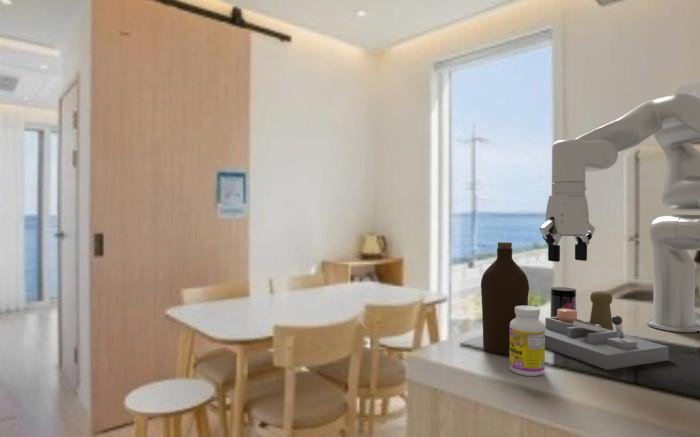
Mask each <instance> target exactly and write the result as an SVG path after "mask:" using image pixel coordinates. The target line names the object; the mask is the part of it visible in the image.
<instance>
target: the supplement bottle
mask: <svg viewBox="0 0 700 437" xmlns="http://www.w3.org/2000/svg"><path fill="white" fill-rule="evenodd" d="M515 314H516V318H515V319H513V320H512V321H511V322H510V347H509V355H508V357H509V359H508V360H509V361H508V362H509V363H508V364H509V366H508V367H509V370H510V371H511V372H513V373H515V374H517V375H520V376H524V377H525V376H526V377H537V376H541V375H543V374H544V373H545V367H546V365H545V364H546V362H545V361H546V360H545V358H546V357H545V356H546V355H545V354H546V350H545V349H546V348H545V324H544V322H543V321H542V320H540V315H541V310H540V307H537V306H534V305H528V306H516V307H515Z"/></svg>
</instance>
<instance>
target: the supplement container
mask: <svg viewBox="0 0 700 437" xmlns="http://www.w3.org/2000/svg"><path fill="white" fill-rule="evenodd" d="M558 309H572V310H576V311H577V289H576V288H573V287H567V286H566V287H564V286H552V287H550V317H557V310H558Z"/></svg>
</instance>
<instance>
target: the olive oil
mask: <svg viewBox="0 0 700 437" xmlns="http://www.w3.org/2000/svg"><path fill="white" fill-rule="evenodd" d="M512 246H513V243H512V242H508V241H507V242H504V241H502V242H497V248H496V253H497V254H496V259H495V260H494V261H493V262H492V263H491V265H489V266H488V267H487V269H485V270H484V272H483V274H482V276H481V280H480V294H481V316H482V317H481V318H482V347H483V349H484V350H485V351H487V352H489V353H493V354H496V355H497V354H498V355H504V356H505V355H506V356H509V347H510V322H511V321H512V320H513V319H515V318H516V314H515V307H516V306H529V305H528V303H529V291H530V285H529V280H528V277H527V275H526V273H525V272H524V270H523V269H522V268H521V267H520V266H519V265H518V264H517V262H516V261H515V260H514V259H513V248H512Z"/></svg>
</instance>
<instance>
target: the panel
mask: <svg viewBox="0 0 700 437" xmlns="http://www.w3.org/2000/svg"><path fill="white" fill-rule="evenodd" d="M577 320H579V321H583V322H587V323H590V320H585V319H582V318H577ZM544 325H545V349H547V348H548V350H550V351H552V352H553V351H554V352H556V353H558V352H559V354H562V355H565V356H567V357H570V358H572V357H573V359H575V358H576V359H575V360H578V361H581V362H584V363H587V364H590V365H592V366H595V367H598V368H601V369H604V370H607V371H608V370H615V369H616V370H617V369H621V368H627V367H634V366H641V365H647V364H653V363H660V362H667V361H669V348H670V347H669V346H668V345H665V344H664V345H663V344H660V343H657V342H652V341H648V340H646V339H641V338H639V337H638V338H637V337H634V336H630V335H628V334H627V335H626V334H624V336H625V338H623V339H619V338H618V334H617V330H616V329H613V331H604V332H598V331H594V330H589V329H586V328H582V327H578V326H575V325H573V322H572V323H566V322H562V321H559V320H557V317H551V316H550V317H545V324H544ZM595 325H596V326H597V327H601V325H598V324H595Z"/></svg>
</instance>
